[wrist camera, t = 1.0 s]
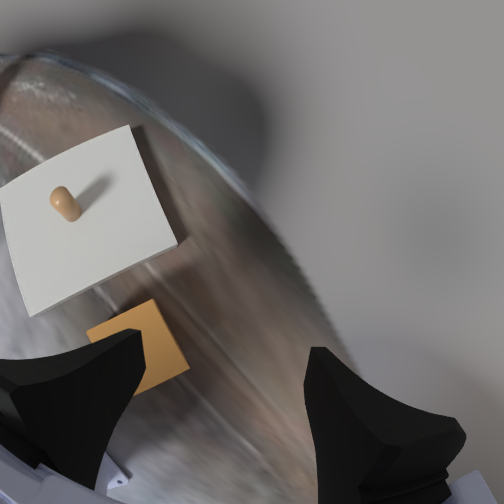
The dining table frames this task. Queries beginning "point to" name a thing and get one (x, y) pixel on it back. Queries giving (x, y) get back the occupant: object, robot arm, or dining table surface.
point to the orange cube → (148, 342)
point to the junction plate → (82, 220)
